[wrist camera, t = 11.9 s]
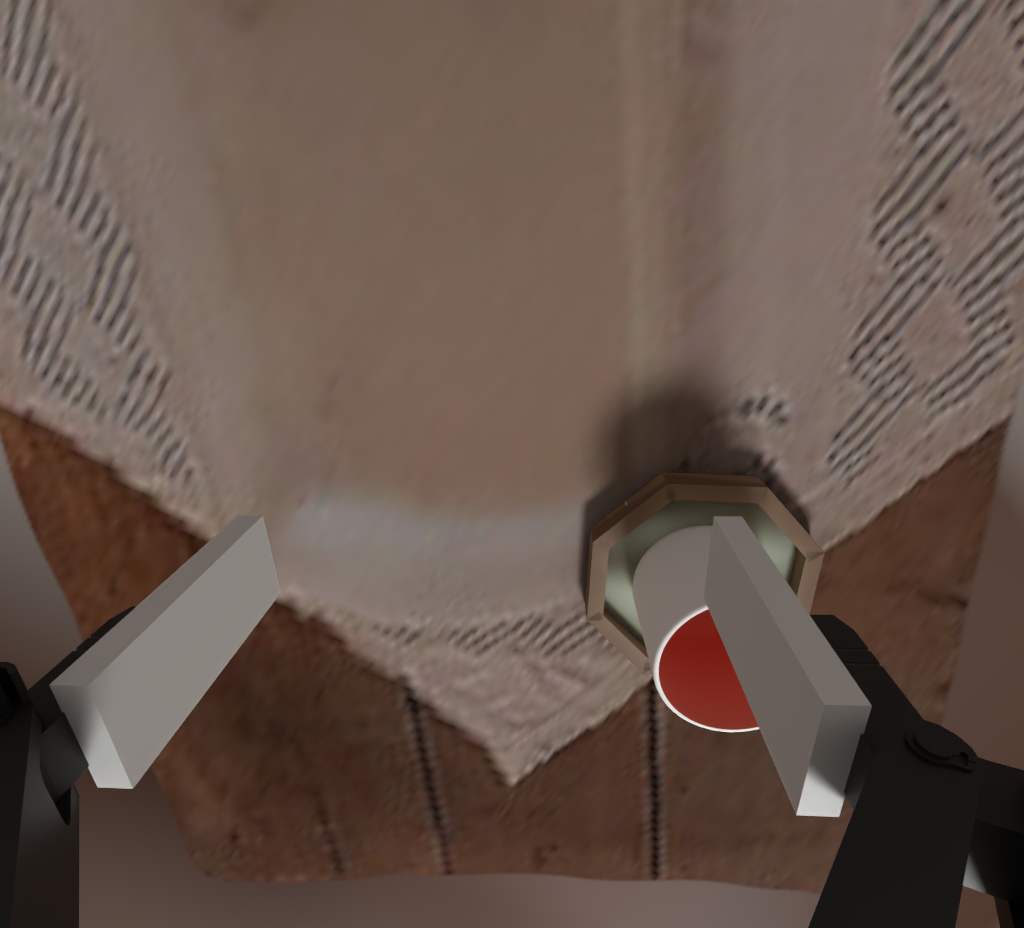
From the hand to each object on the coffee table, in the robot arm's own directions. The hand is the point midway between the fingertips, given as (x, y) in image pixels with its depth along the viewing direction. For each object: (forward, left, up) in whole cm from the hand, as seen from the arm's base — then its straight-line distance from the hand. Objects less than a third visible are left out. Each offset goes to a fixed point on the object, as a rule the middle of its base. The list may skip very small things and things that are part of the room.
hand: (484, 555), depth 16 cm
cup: (+14, +14, -23) cm, 30 cm away
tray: (+14, +14, -24) cm, 31 cm away
